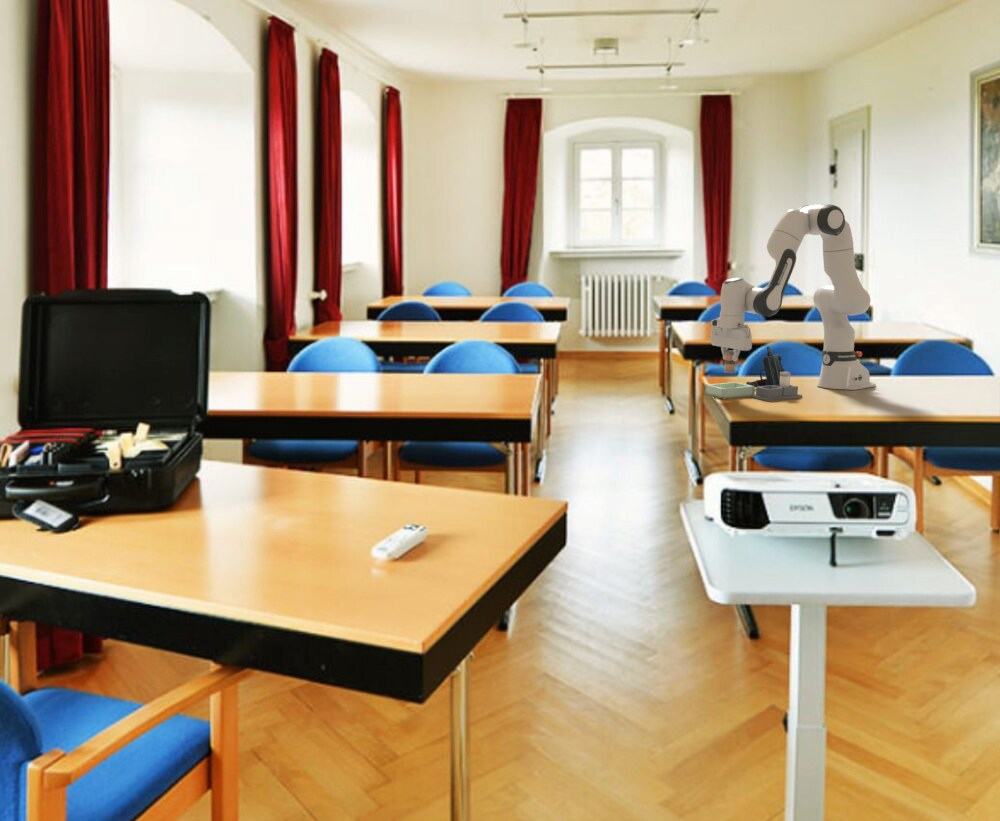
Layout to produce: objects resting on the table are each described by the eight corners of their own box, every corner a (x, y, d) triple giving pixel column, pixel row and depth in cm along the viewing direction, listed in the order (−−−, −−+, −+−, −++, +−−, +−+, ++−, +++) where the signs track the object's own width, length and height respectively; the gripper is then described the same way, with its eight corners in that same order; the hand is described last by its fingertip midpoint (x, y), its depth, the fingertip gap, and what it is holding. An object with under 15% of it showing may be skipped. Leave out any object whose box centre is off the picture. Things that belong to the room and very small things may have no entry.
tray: (735, 391, 385) (735, 382, 385) (754, 395, 376) (754, 386, 375) (705, 394, 380) (705, 384, 379) (723, 398, 370) (723, 389, 369)
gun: (741, 352, 391) (779, 344, 383) (750, 394, 392) (788, 387, 384) (739, 353, 389) (777, 345, 381) (748, 395, 390) (786, 388, 382)
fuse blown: (730, 371, 378) (731, 350, 377) (736, 372, 375) (737, 351, 374) (722, 372, 377) (723, 350, 375) (728, 373, 373) (729, 351, 372)
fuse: (784, 392, 376) (785, 371, 374) (791, 394, 372) (792, 372, 371) (776, 393, 374) (777, 372, 373) (783, 395, 371) (784, 373, 369)
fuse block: (785, 393, 379) (786, 383, 378) (802, 397, 371) (802, 386, 370) (751, 397, 373) (751, 386, 372) (767, 401, 365) (767, 390, 364)
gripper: (757, 324, 365) (755, 363, 367) (721, 320, 383) (720, 356, 385) (742, 325, 362) (741, 364, 364) (708, 320, 380) (706, 357, 383)
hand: (730, 360), depth 375 cm, fingers closed on fuse blown, 4 cm apart
